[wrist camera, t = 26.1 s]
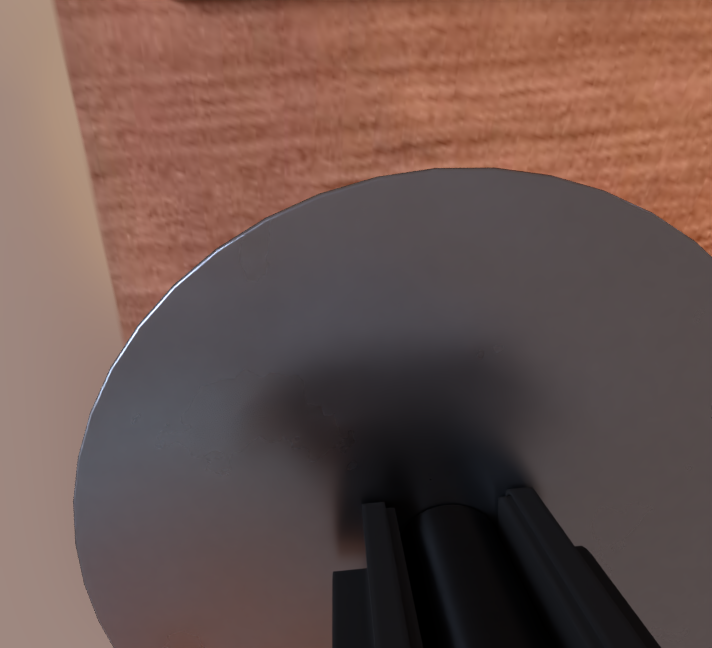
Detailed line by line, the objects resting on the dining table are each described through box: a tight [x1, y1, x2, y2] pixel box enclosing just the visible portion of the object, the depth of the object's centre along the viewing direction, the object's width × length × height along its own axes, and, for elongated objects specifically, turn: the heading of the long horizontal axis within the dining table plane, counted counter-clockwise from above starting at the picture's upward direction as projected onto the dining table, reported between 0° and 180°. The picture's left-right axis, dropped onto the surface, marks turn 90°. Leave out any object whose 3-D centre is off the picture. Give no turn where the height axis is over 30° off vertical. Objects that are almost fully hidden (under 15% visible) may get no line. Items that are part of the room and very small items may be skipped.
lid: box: [73, 168, 712, 648], centre depth 8 cm, size 17×17×6 cm
